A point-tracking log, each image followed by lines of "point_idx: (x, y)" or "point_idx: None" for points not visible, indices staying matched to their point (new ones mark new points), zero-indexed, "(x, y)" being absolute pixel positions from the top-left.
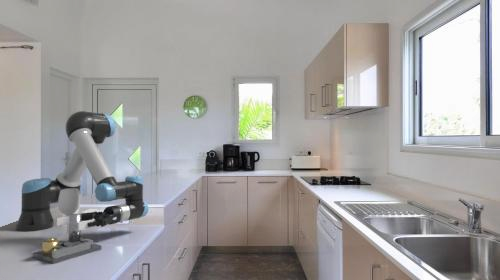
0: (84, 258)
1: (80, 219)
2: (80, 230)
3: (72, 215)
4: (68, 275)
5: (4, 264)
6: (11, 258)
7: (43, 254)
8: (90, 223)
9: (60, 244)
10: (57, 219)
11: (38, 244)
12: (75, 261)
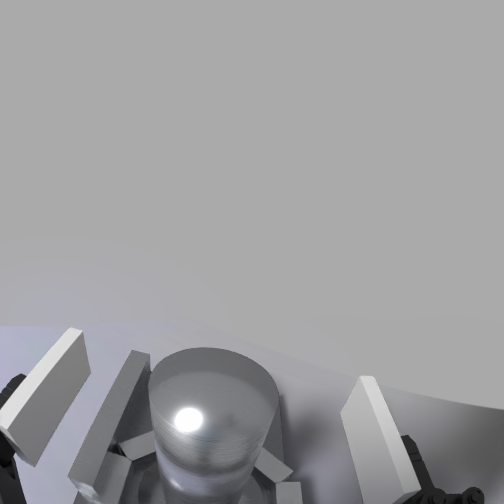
0: (61, 431)
1: (153, 431)
2: (163, 483)
3: (199, 352)
4: (40, 326)
5: (273, 350)
6: (317, 376)
7: None
8: (15, 379)
9: None
10: (356, 382)
11: (433, 467)
12: (75, 403)
